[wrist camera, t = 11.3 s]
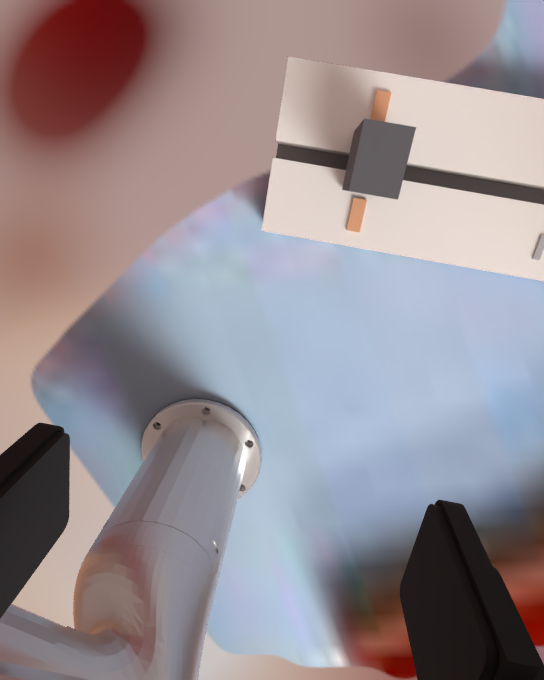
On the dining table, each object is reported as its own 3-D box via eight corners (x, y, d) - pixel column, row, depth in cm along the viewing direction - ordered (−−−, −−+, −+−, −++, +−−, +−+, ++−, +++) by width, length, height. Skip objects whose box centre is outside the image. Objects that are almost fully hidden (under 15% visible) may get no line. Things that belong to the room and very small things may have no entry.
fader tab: (376, 196, 36) (397, 199, 27) (339, 189, 36) (348, 190, 27) (388, 142, 34) (416, 127, 25) (350, 136, 34) (364, 118, 25)
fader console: (564, 279, 38) (595, 290, 34) (266, 226, 38) (261, 231, 34) (625, 126, 34) (668, 118, 30) (290, 70, 34) (287, 54, 30)
